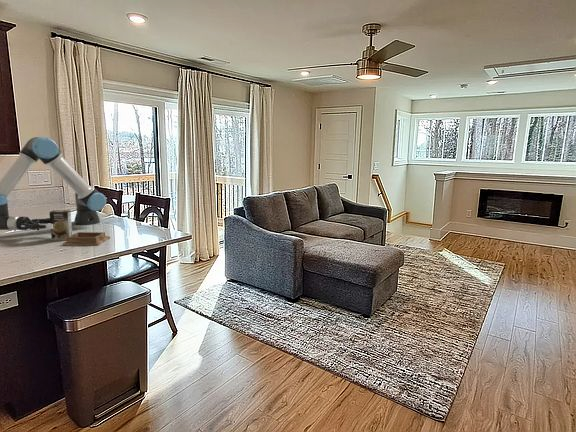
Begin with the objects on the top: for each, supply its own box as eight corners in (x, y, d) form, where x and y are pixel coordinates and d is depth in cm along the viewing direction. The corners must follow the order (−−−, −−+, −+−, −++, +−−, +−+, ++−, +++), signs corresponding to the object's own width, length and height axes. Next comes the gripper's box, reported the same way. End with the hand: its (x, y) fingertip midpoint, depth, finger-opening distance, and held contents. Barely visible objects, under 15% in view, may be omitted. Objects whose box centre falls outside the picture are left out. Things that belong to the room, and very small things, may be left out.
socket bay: (77, 237, 212) (77, 230, 211) (110, 238, 213) (109, 231, 212) (63, 245, 196) (62, 237, 195) (98, 245, 198) (97, 238, 197)
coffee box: (51, 240, 204) (48, 212, 201) (55, 237, 210) (52, 210, 207) (69, 240, 207) (67, 211, 204) (73, 237, 213) (70, 209, 210)
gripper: (34, 225, 218) (71, 225, 219) (5, 235, 193) (47, 235, 195) (32, 212, 216) (70, 213, 218) (3, 221, 192) (45, 221, 193)
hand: (59, 223), depth 206 cm, fingers open, 13 cm apart
